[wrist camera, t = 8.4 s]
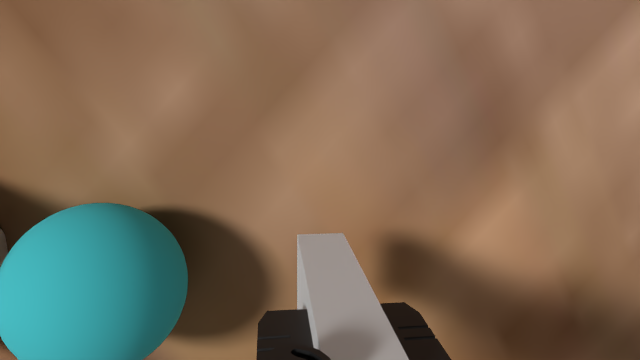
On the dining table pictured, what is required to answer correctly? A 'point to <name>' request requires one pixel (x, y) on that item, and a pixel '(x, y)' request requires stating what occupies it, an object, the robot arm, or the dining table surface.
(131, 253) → the ball
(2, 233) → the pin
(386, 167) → the dining table surface
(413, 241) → the dining table surface
